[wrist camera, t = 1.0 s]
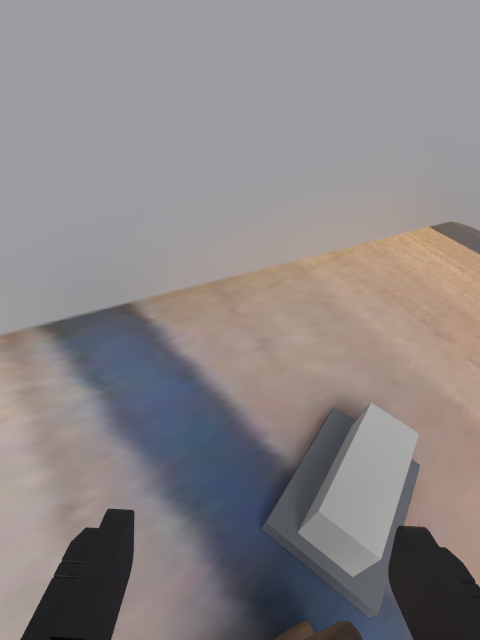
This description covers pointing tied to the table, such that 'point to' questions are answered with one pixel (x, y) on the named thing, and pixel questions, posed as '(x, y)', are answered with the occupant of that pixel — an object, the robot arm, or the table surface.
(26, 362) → the table surface
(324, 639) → the wooden block
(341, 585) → the rail stand
